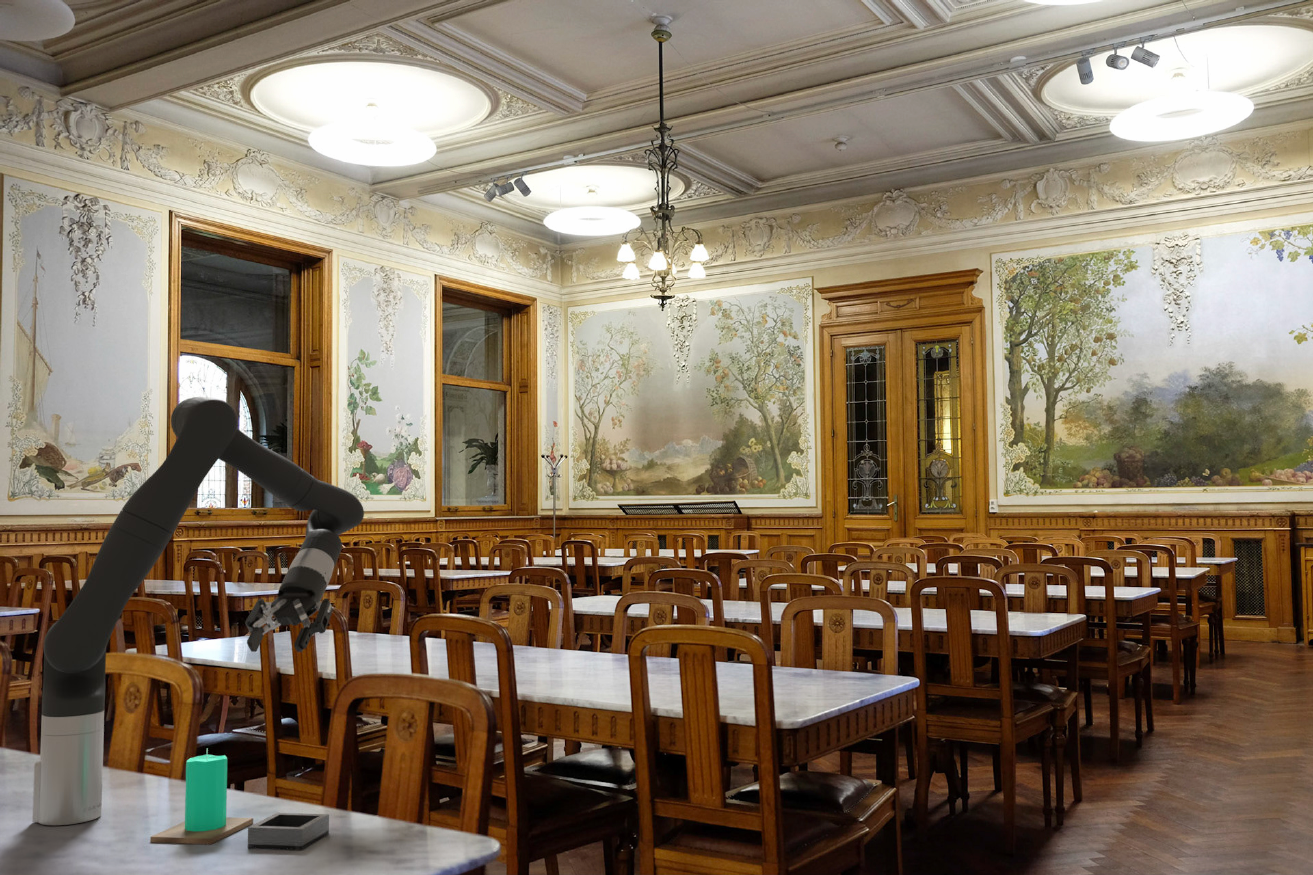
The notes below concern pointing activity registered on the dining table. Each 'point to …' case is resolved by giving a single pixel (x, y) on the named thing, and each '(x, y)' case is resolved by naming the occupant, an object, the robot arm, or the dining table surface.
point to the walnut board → (201, 832)
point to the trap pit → (288, 831)
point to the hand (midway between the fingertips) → (274, 648)
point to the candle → (206, 793)
